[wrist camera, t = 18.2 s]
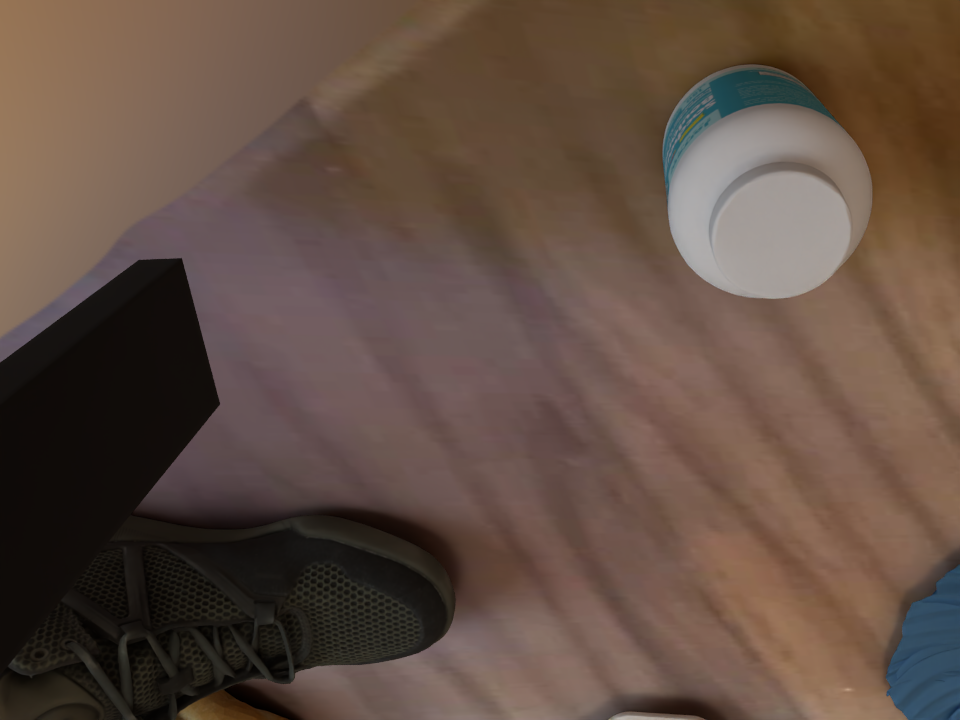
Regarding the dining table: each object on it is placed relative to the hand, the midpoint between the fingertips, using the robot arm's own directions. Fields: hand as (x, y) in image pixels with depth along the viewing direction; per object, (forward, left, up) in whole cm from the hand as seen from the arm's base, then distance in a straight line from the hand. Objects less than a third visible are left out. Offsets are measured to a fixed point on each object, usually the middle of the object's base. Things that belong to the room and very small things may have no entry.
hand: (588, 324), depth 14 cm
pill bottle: (+5, +6, -31) cm, 32 cm away
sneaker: (+32, -24, -31) cm, 51 cm away
